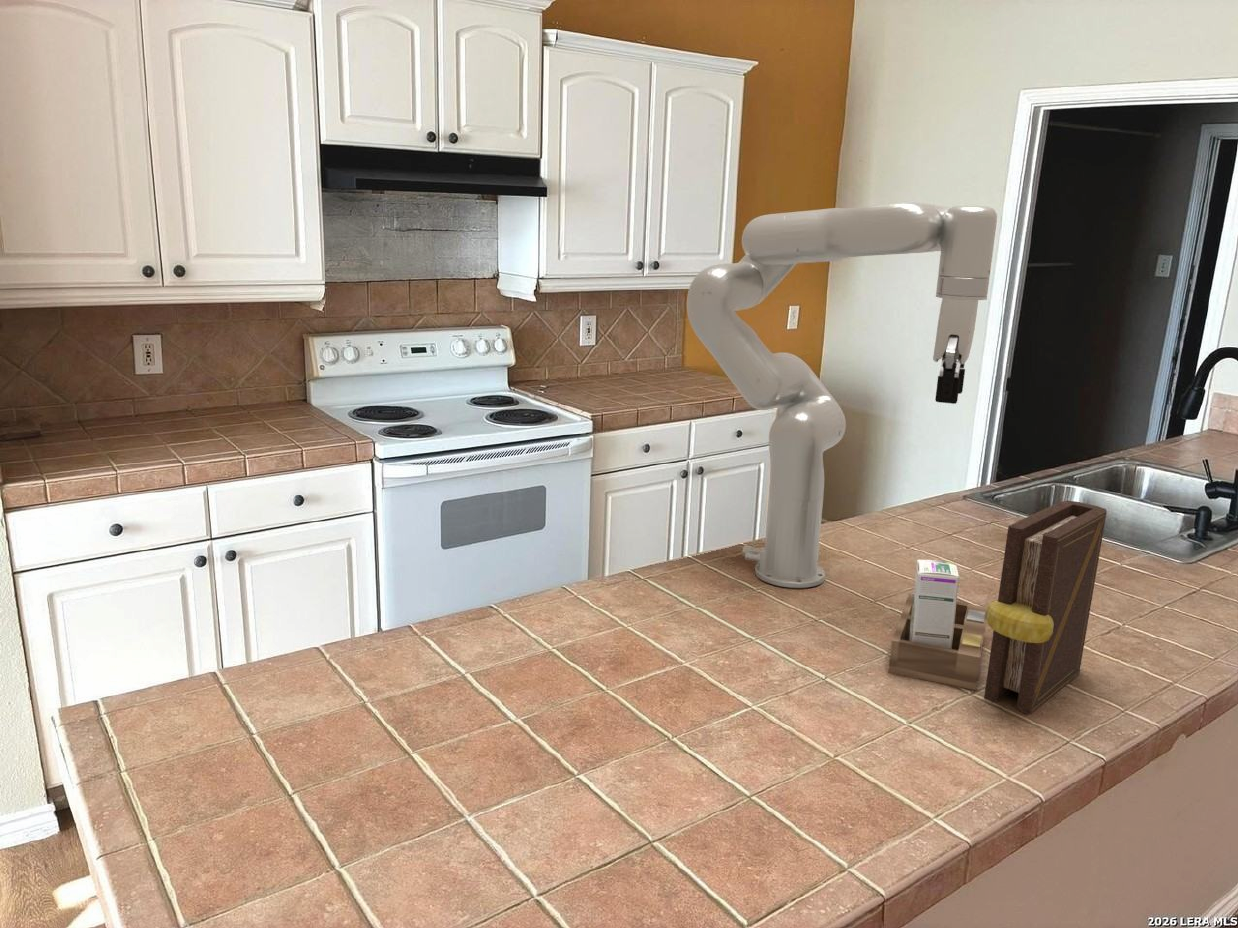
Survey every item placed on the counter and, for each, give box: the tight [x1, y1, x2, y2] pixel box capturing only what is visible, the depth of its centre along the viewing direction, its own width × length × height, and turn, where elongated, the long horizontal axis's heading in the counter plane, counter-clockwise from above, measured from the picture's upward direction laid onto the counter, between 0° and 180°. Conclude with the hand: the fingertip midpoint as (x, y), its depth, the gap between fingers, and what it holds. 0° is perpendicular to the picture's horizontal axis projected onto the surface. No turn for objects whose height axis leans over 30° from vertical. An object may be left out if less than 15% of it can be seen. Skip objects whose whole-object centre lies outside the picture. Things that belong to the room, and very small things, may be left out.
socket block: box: [888, 593, 989, 691], centre depth 143 cm, size 20×12×5 cm, turn 157°
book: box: [983, 500, 1108, 716], centre depth 131 cm, size 22×8×25 cm, turn 134°
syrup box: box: [909, 559, 960, 649], centre depth 138 cm, size 6×6×14 cm
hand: (948, 397), depth 151 cm, fingers open, 9 cm apart
